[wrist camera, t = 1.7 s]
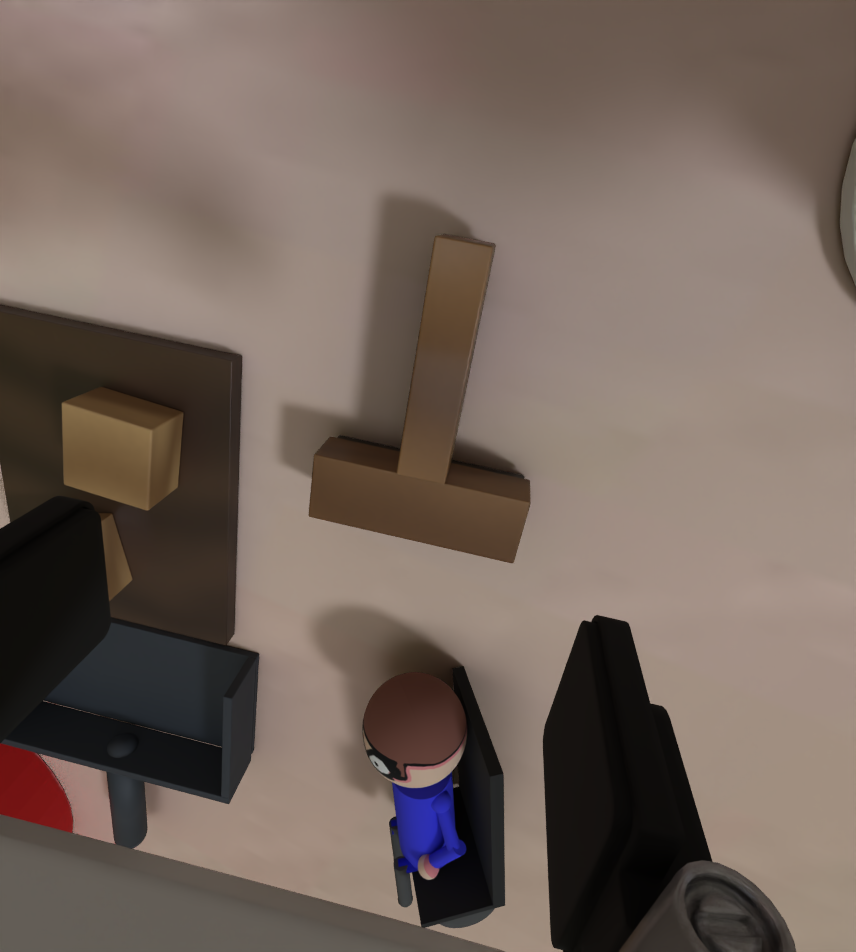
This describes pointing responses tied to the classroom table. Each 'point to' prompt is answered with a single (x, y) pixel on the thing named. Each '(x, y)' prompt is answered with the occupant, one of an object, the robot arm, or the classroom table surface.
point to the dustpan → (151, 719)
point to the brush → (430, 435)
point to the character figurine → (440, 796)
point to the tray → (141, 531)
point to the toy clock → (32, 790)
